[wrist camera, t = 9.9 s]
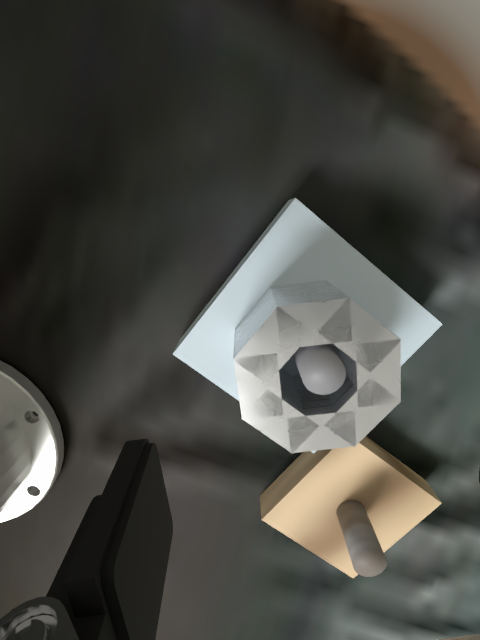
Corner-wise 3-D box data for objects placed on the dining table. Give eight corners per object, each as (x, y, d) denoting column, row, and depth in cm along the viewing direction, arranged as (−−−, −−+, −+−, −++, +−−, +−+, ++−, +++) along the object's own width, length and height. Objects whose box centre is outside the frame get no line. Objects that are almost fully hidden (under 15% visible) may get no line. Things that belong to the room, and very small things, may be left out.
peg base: (180, 338, 21) (153, 393, 15) (288, 199, 19) (313, 191, 12) (306, 428, 23) (331, 513, 16) (419, 311, 21) (501, 356, 14)
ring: (229, 291, 18) (226, 312, 14) (366, 274, 18) (401, 291, 14) (245, 411, 20) (246, 458, 16) (369, 397, 19) (401, 442, 16)
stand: (259, 495, 24) (264, 573, 19) (338, 415, 23) (368, 476, 17) (345, 551, 26) (371, 637, 20) (425, 480, 24) (477, 555, 19)
